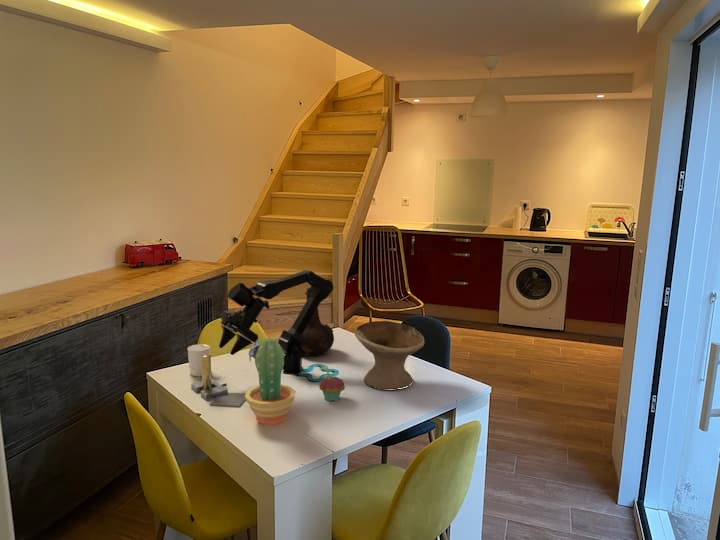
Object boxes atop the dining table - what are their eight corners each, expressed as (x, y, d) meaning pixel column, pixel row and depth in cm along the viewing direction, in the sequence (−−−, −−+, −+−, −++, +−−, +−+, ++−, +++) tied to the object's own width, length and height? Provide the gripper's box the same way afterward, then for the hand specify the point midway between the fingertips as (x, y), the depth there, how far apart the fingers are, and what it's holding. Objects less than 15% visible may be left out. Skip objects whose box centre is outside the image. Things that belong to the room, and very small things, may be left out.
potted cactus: (275, 403, 172) (275, 329, 168) (306, 418, 161) (306, 340, 157) (235, 417, 161) (233, 339, 157) (265, 434, 150) (264, 351, 146)
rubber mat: (249, 395, 178) (249, 393, 178) (239, 407, 168) (239, 406, 168) (221, 393, 179) (221, 392, 179) (209, 405, 169) (209, 404, 169)
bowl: (369, 399, 177) (370, 342, 173) (343, 374, 200) (344, 323, 196) (436, 390, 186) (438, 335, 183) (404, 366, 209) (406, 318, 206)
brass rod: (212, 390, 181) (212, 354, 179) (209, 394, 178) (208, 357, 176) (204, 390, 181) (203, 354, 179) (201, 393, 179) (199, 357, 176)
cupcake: (325, 405, 171) (325, 370, 169) (315, 395, 179) (315, 361, 177) (348, 400, 175) (349, 366, 173) (338, 391, 183) (338, 358, 181)
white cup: (204, 377, 193) (203, 351, 191) (184, 375, 195) (183, 349, 193) (214, 370, 201) (213, 345, 199) (195, 368, 202) (194, 343, 201)
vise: (218, 382, 189) (218, 377, 189) (234, 393, 180) (234, 388, 179) (191, 388, 183) (191, 383, 182) (206, 400, 173) (206, 395, 173)
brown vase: (336, 358, 217) (337, 292, 213) (293, 360, 213) (293, 293, 209) (330, 345, 234) (330, 283, 230) (289, 347, 231) (289, 284, 226)
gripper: (222, 296, 189) (197, 333, 185) (245, 306, 175) (219, 347, 171) (244, 311, 196) (221, 348, 192) (269, 322, 181) (244, 362, 177)
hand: (225, 350), depth 183 cm, fingers open, 9 cm apart
